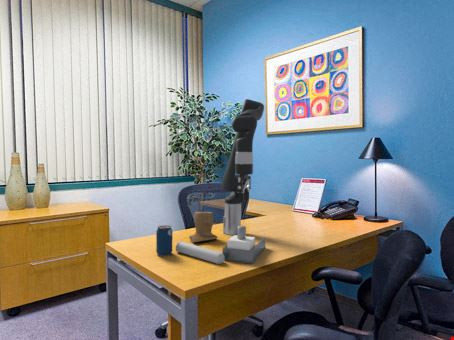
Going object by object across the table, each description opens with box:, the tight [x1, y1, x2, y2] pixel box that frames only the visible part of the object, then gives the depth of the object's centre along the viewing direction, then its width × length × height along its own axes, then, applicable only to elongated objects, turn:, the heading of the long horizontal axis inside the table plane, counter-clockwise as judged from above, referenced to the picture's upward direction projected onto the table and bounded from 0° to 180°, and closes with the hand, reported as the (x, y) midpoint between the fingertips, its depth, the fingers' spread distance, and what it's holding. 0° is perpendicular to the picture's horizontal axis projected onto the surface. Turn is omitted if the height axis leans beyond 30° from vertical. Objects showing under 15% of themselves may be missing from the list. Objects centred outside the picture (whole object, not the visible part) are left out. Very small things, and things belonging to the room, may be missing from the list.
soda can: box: [155, 225, 173, 257], centre depth 135 cm, size 7×7×12 cm
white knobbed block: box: [226, 225, 256, 251], centre depth 131 cm, size 10×9×12 cm
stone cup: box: [188, 211, 219, 243], centre depth 158 cm, size 15×12×15 cm
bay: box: [221, 237, 266, 265], centre depth 137 cm, size 13×24×5 cm, turn 161°
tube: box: [175, 240, 225, 265], centre depth 131 cm, size 5×5×25 cm
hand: (243, 201), depth 131 cm, fingers open, 8 cm apart
